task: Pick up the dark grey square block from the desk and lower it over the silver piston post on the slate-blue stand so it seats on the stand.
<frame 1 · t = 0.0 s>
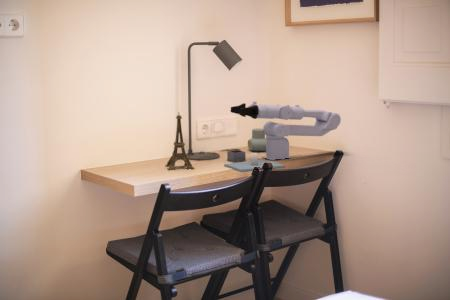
hand: (235, 110, 277), 22 cm above the table, fingers open, 7 cm apart
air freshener: (258, 151, 310), on the table
eiffel tower: (179, 168, 269), on the table
dark grey square block: (236, 160, 284), on the table
piston stand: (254, 166, 270), on the table
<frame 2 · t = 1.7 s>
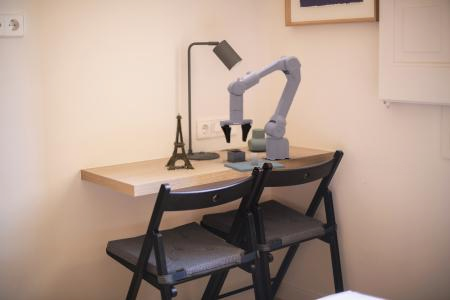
hand: (236, 142, 282), 8 cm above the table, fingers open, 7 cm apart
nothing on the table moved.
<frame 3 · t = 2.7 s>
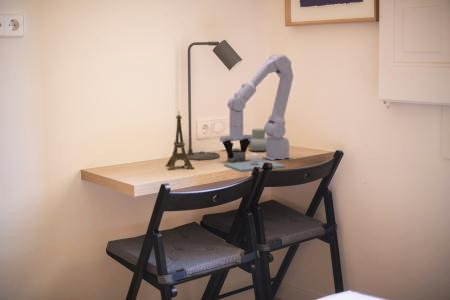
hand: (236, 157, 283), 1 cm above the table, fingers closed on dark grey square block, 6 cm apart
dark grey square block: (236, 160, 284), on the table, touching gripper
everything else where it was.
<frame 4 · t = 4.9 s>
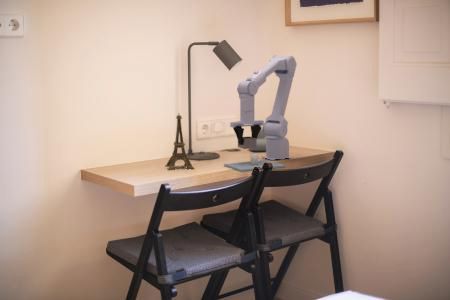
hand: (247, 144, 274), 8 cm above the table, fingers closed on dark grey square block, 6 cm apart
dark grey square block: (247, 147, 274), point 7 cm above the table, touching gripper
everything else where it was.
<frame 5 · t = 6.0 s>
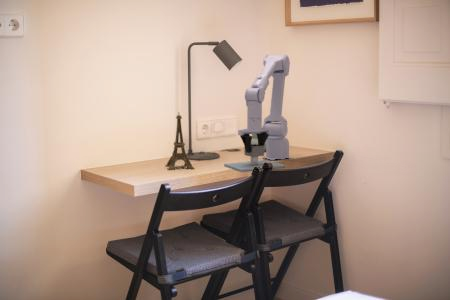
hand: (254, 151, 269), 6 cm above the table, fingers closed on dark grey square block, 6 cm apart
dark grey square block: (254, 155, 270), point 5 cm above the table, touching gripper
everything else where it was.
when the fingers open (4 cm above the table, at t = 7.0 s): dark grey square block drops 2 cm, resting on piston stand.
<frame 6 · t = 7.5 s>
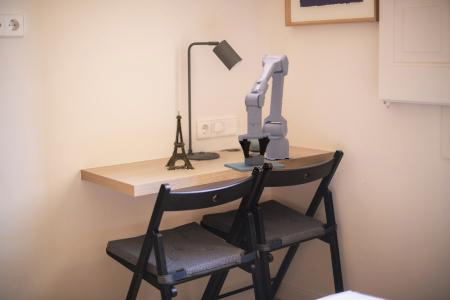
hand: (254, 157, 270), 4 cm above the table, fingers open, 7 cm apart
dark grey square block: (254, 164, 270), point 1 cm above the table, touching piston stand
everything else where it was.
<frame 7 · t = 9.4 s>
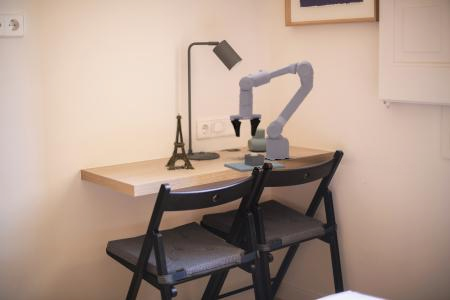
hand: (245, 136, 289), 9 cm above the table, fingers open, 7 cm apart
nothing on the table moved.
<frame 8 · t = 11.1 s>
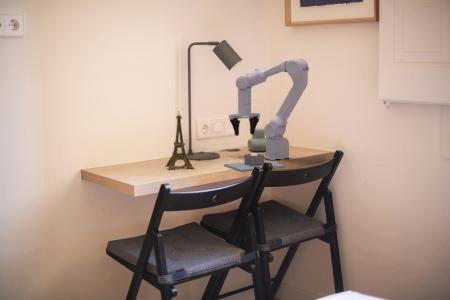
hand: (244, 134, 294), 9 cm above the table, fingers open, 7 cm apart
nothing on the table moved.
at the end: dark grey square block 0.1 cm off-centre on the piston stand, point 0.8 cm above the piston stand's base; dark grey square block tilted 0°; the gripper is holding nothing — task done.
